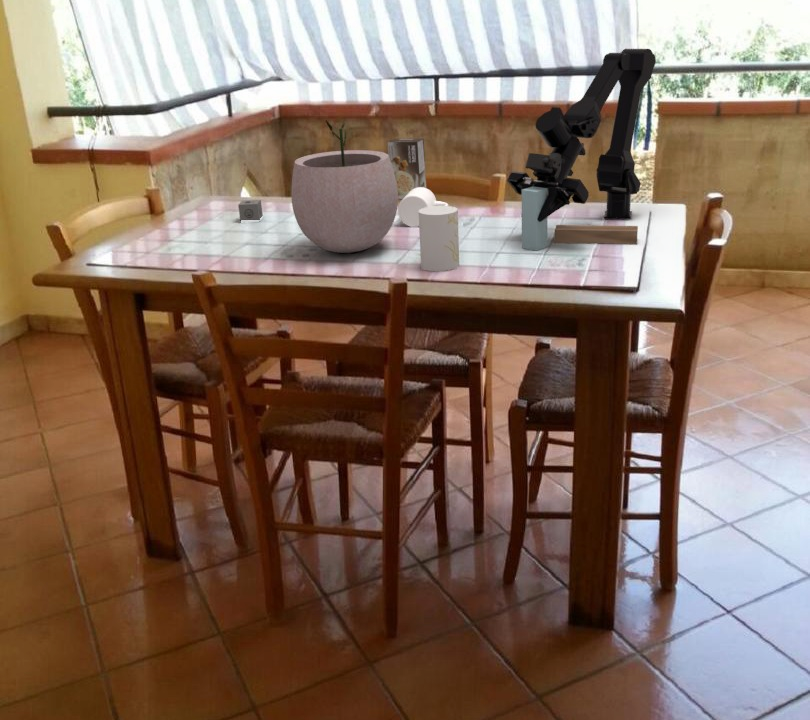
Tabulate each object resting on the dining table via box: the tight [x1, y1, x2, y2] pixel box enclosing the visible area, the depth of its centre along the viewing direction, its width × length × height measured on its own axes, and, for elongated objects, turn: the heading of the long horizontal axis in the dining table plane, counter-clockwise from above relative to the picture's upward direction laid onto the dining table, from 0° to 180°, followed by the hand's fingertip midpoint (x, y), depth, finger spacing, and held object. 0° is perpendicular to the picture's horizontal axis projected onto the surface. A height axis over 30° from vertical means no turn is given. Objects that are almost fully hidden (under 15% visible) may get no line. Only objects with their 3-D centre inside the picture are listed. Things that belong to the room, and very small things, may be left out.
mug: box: [397, 187, 450, 228], centre depth 220 cm, size 12×10×8 cm
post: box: [521, 187, 548, 252], centre depth 193 cm, size 4×4×13 cm
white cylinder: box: [418, 205, 460, 272], centre depth 184 cm, size 8×8×12 cm
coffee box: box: [387, 138, 427, 200], centre depth 247 cm, size 9×6×16 cm
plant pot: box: [291, 118, 399, 254], centre depth 196 cm, size 24×24×30 cm
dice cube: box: [237, 199, 264, 220], centre depth 232 cm, size 5×5×5 cm
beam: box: [553, 224, 639, 245], centre depth 197 cm, size 4×18×3 cm, turn 75°
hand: (530, 219), depth 192 cm, fingers closed on post, 4 cm apart
